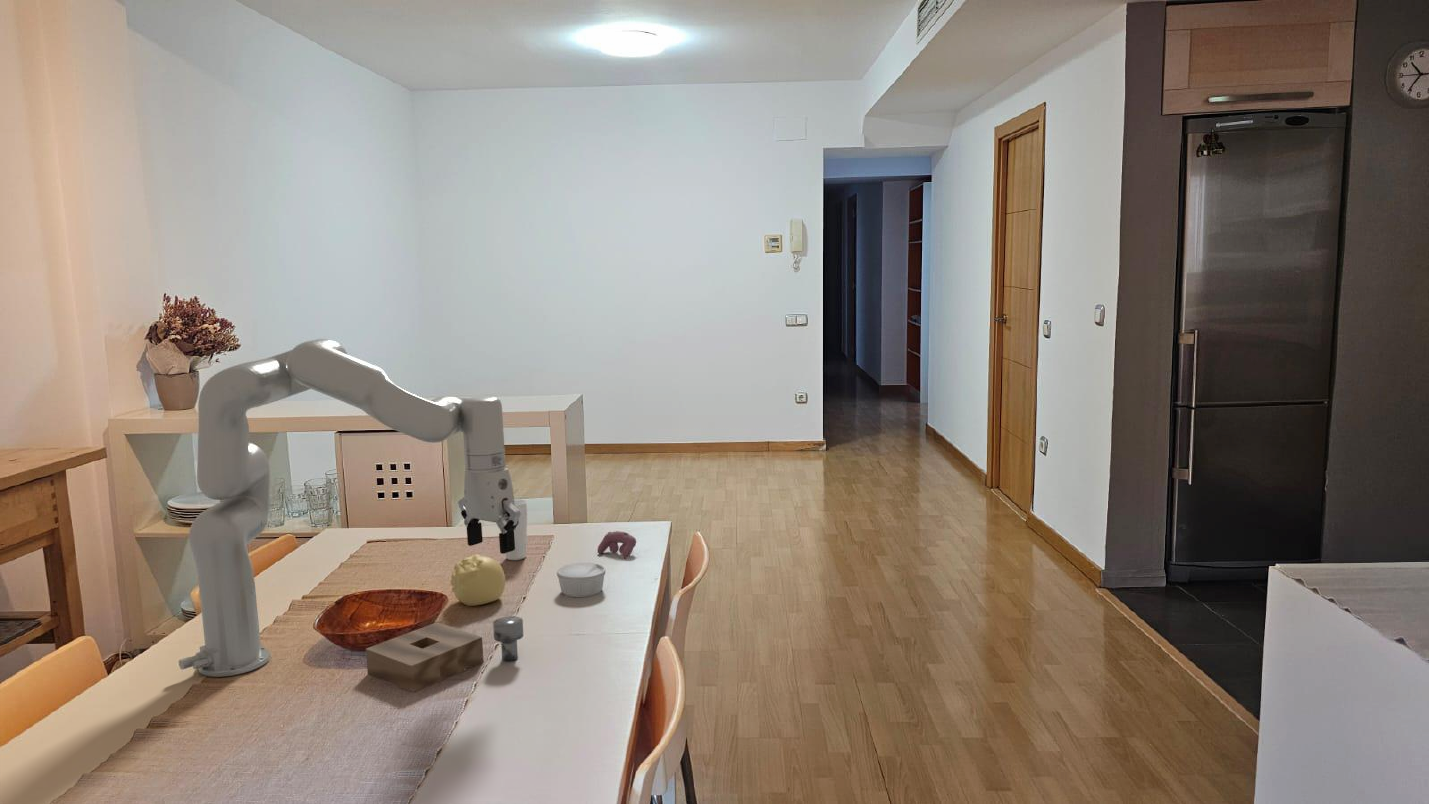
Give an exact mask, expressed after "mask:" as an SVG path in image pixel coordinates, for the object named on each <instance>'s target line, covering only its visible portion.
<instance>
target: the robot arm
mask: <svg viewBox="0 0 1429 804" xmlns="http://www.w3.org/2000/svg"><path fill="white" fill-rule="evenodd" d="M309 390H312V391H316V392H318V393H321V394H323V395H326V396H328V397H330V398H333V399H335V400H338V401H340V402H343V403H345V404H348V405H350V406H353V407H354V408H355V407H356V408H357V409H360V410H362V411H363V412H364V413H366V415H368V416H370V417H372V418H373V419H375V420H376V421H377V422H379V423H381V424H382V425H384V426H386V427H388V428H390V429H392V430H394V431H397V432H399V433H401V434H404V435H406V436H409V437H411V438H413V439H417V440H418V441H419V440H420V441H423V442H425V443H431V444H432V443H433V444H435V443H437V444H438V443H441V442H444V441H445V440H447V439H448V438H450V437H451V436H453V435H455V434H459V433H462V435H463V436H462V437H463V448H464V449H463V450H464V463H465V465H464V466H465V470H464V479H463V481H464V483H463V493H464V494H463V495H464V497H463V498H461V499H459V500H458V501H457V503H458V504H457V505H458V506H459V510H460V511H461V512H460V514H461V517H462V518H463V519H464V521H463V523H464V525H465V527H466V535H467V536H466V538H467V545H468V546H469V547H473V546H475V545H478V544H482V543H483V527H482V522H480V521H485V522H490V523H496V525H497V527H498V530H500V532H499V533H498V541H499V552H500V554H503V555H506V553H508V552H511V551H514V550H515V539H514V531H515V530H516V526H517V525H518V523H519V521H518V520H519V518H520V514H521V512H520V510H518V509H517V508H516V507H515V502H514V499H515V496H514V495H515V494H514V488H513V484H512V483H513V482H512V478H511V475H510V474H511V473H510V471H509V468H507V465H506V450H505V449H506V448H505V436H504V435H505V433H504V420H503V418H504V417H503V415H504V414H503V404H502V402H501V400H500V399H499V398H498V397H495V396H474V397H458V396H457V397H456V396H450V395H449V396H448V395H447V396H446V395H445V396H439V397H436V398H434V399H432V400H428V399H426V398H423V397H420V396H417V395H416V394H413V393H411V392H409V391H406V390H405V389H403V388H401V387H399V386H397V384H395V383H394V382H393V381H391V379H390V378H389V377H388V374H387V373H386V372H385V370H383V369H382V368H381V367H379V366H377V365H374V364H371V363H370V362H367V361H365V360H362V359H360V358H357V357H354V356H352V355H349V354H348V353H347V351H346V349H345V347H343V346H342V345H341V344H340V343H339V342H337V341H335V340H332V339H328V338H317V339H313V340H309V341H308V340H306V341H304V342H300V343H299V344H297V345H295V347H293V349H290V350H289V351H284V352H282V353H279V354H276V355H273V356H271V357H266V358H263V359H262V358H261V359H258V360H252V361H247V362H243V363H239V364H237V365H232V366H230V367H227V368H225V369H223V370H220V371H218V372H217V373H215V374H214V375H213V376H211V377H210V378H208V380H207V381H206V382H205V383H204V385H203V386H202V388H201V391H200V392H199V397H198V404H197V405H198V406H197V407H198V409H197V410H198V411H197V412H198V433H197V434H198V436H197V463H196V464H197V465H196V466H197V468H196V480H197V485H198V488H199V490H200V491H201V493H202V494H203V495H204V496H206V497H207V498H209V499H211V500H215V501H217V500H218V501H219V503H216V504H214V505H212V506H210V507H209V508H207V509H205V510H203V511H202V512H200V514H198V515H197V516H196V518H195V519H194V520H193V521H192V523H191V525H190V528H189V532H188V541H189V542H188V543H189V546H190V550H191V553H192V557H193V558H194V562H195V567H196V568H195V569H196V574H197V575H196V576H197V580H198V581H197V582H198V590H199V598H200V609H201V617H202V628H203V636H204V637H203V638H204V645H202V646H199V651H198V652H196V653H195V655H192V656H187V657H183V658H181V659H179V661H178V666H179V669H180V670H186V669H188V668H189V669H190V668H191V667H192V668H193V670H197V671H198V672H199V673H200V675H203V676H206V677H213V678H217V677H218V678H220V677H231V676H236V675H241V674H245V673H247V672H248V673H249V672H251V671H254V670H256V669H259V668H261V667H263V666H264V665H266V664H267V663H268V662H269V661H270V659H271V651H270V650H269V649H268V648H266V647H264V646H261V645H262V644H261V636H260V635H261V633H260V632H261V631H260V624H259V622H260V621H259V611H258V603H257V589H256V582H255V573H254V568H253V563H252V561H251V558H250V554H249V552H248V549H247V545H248V544H249V543H251V542H252V541H254V540H255V539H256V538H258V537H259V536H260V535H261V534H262V532H264V531H265V529H266V527H267V525H268V521H269V516H270V515H269V513H270V512H269V511H270V485H271V484H270V481H271V480H270V479H271V471H270V463H269V460H268V457H267V455H266V453H265V452H264V451H263V449H262V448H260V447H259V446H258V445H256V444H254V443H252V442H249V436H250V426H249V421H248V417H247V412H248V411H250V410H251V409H253V408H259V407H261V406H265V405H268V404H271V403H274V402H275V403H276V402H279V401H281V400H284V399H286V398H289V397H291V396H294V395H298V394H300V393H303V392H306V391H309ZM503 521H506V522H507V524H506V525H504V523H503Z"/></svg>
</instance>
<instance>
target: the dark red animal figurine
mask: <svg viewBox="0 0 1429 804" xmlns="http://www.w3.org/2000/svg"><path fill="white" fill-rule="evenodd" d="M618 543H619V544H621V545H620V546H619V544H618ZM636 545H637V538H635V537H634V536H633V535H631V534H630V533H627V532H625V531H620V530H619V531H618V530H616V531H608V532H607V534H605V535H604V537H603V538H602V540H601V542H600V543H599V544H598V546H597V553H599V555H601V554H600V553H602V554H603V553H604V552H606V551H607V549H608V548H609V551H610V552H612V553H614V552H616V553H617V552H619V553H620V554H621V555H622V557H623V559H627V558H628V557H630V555H631V554H632V553H633V551H634V548H635V547H636Z"/></svg>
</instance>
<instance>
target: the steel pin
mask: <svg viewBox="0 0 1429 804" xmlns="http://www.w3.org/2000/svg"><path fill="white" fill-rule="evenodd" d="M523 621H524V620H523V618H522V617H520V616H512V615H511V616H509V615H507V616H503V617H499V618H496V619H495V620H494V621H493V622H492V627H493V629H492V630H493V639H494V640H495V641H496V642H500V643H501V645H500V646H501V647H500V648H501V660H502V661H503V662H506V663H507V662H508V663H509V662H514V661H516V660H518V659H519V653H518V640H521V639H522V638H523V637H524V622H523Z"/></svg>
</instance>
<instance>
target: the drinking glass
mask: <svg viewBox="0 0 1429 804" xmlns="http://www.w3.org/2000/svg"><path fill="white" fill-rule="evenodd" d="M514 502H515V507H516V508H517V509H518V510H520V512H521V514H520V518H519V520H518V521H519V523H518V525H517V526H516V530H515V531H514V539H515V550H514V551H511V552H508V553H505V558H506V560H508V561H520V560H523V559H525V558H526V557H527V534H528V532H527V531H528V510H527V509H528V506H527V500H524V499H518V498H517V499H515V498H514ZM503 523H504V525H506V524H507V522H506V521H503Z"/></svg>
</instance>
